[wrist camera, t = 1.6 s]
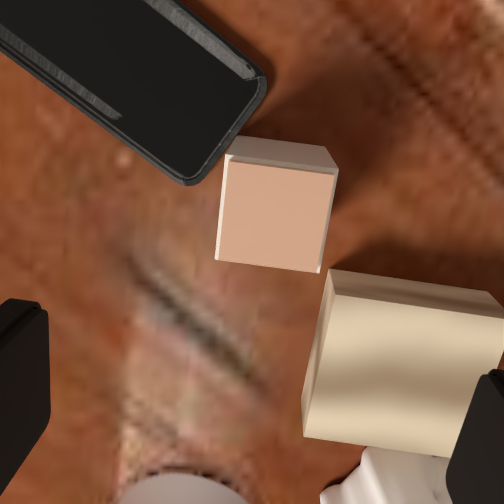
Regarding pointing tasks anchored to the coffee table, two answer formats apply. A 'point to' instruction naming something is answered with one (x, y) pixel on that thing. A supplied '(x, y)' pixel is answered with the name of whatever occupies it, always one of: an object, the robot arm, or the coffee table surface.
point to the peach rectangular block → (275, 203)
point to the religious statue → (392, 480)
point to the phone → (140, 74)
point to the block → (398, 361)
